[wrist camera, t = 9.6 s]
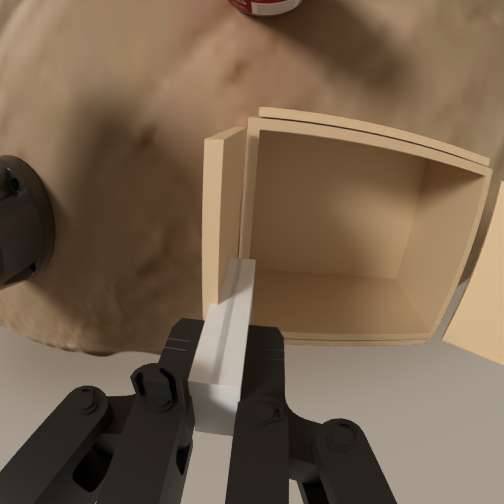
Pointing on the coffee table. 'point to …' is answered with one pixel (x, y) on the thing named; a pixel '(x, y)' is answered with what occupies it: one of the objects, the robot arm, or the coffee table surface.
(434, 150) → the carton
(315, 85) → the coffee table surface
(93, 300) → the coffee table surface
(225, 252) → the flap
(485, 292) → the flap
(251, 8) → the soda can
